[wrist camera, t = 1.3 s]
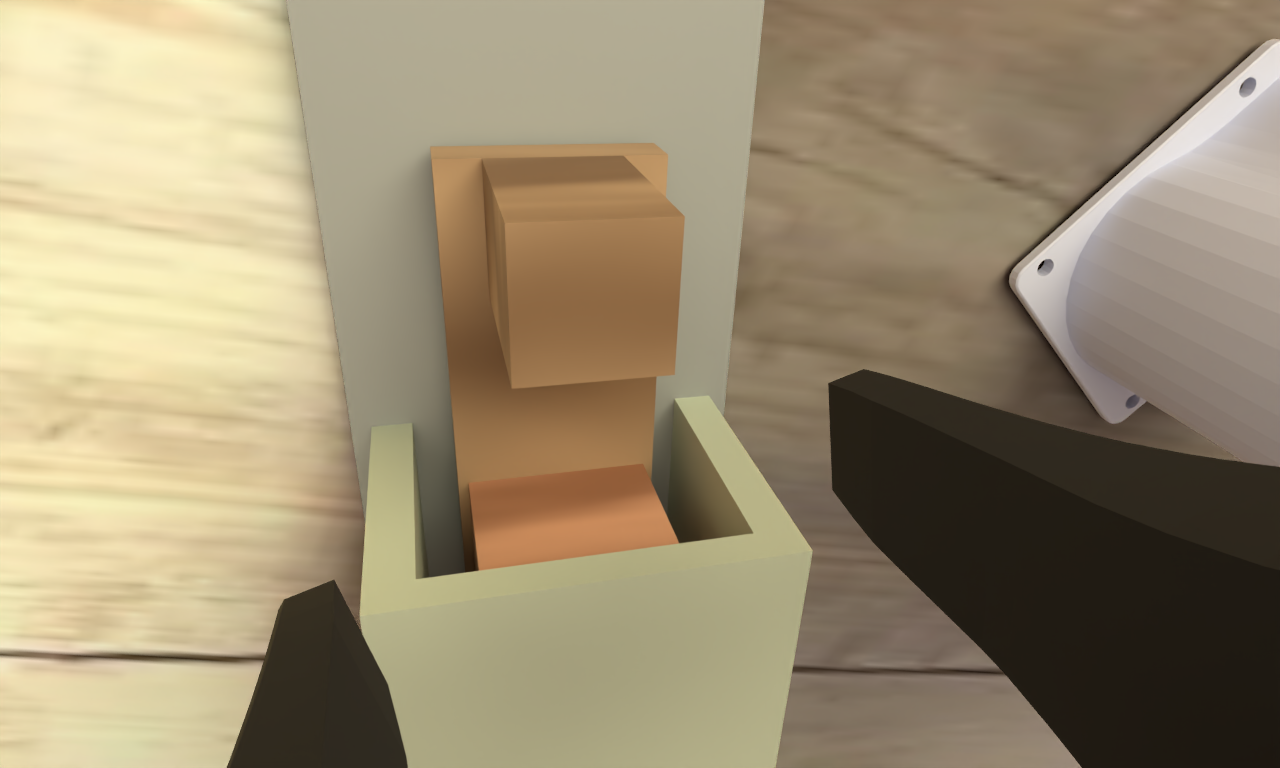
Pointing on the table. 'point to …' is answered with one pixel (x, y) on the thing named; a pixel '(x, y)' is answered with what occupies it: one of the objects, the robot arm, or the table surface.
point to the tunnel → (594, 626)
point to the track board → (510, 115)
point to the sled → (556, 343)
